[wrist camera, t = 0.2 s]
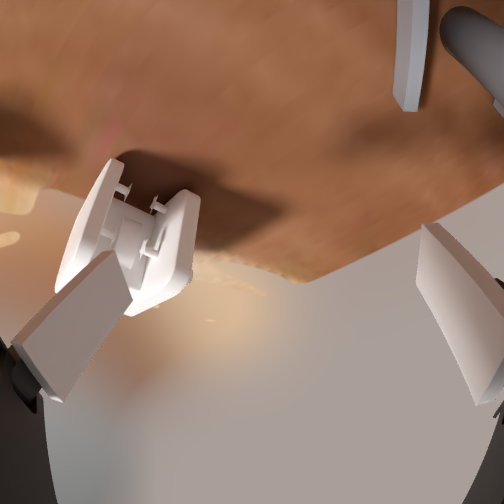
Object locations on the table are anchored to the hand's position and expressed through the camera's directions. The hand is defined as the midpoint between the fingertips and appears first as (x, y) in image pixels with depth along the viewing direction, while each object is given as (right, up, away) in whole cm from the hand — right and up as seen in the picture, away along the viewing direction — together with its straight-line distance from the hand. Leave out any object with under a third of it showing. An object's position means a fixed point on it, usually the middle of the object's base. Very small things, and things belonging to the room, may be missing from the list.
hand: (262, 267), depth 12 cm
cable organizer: (-14, +7, +20) cm, 25 cm away
